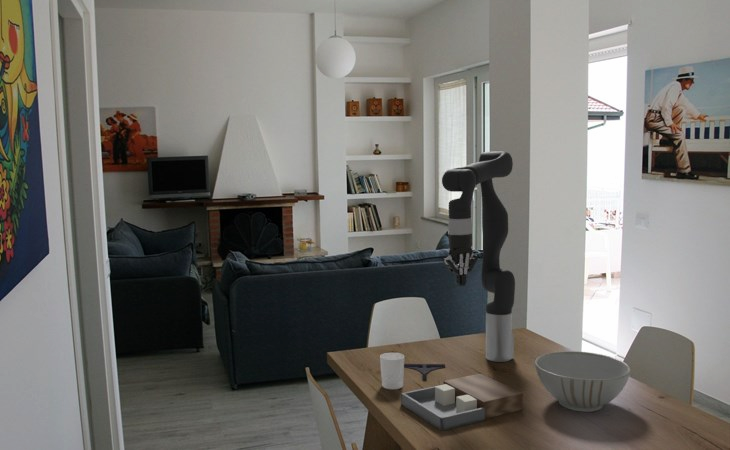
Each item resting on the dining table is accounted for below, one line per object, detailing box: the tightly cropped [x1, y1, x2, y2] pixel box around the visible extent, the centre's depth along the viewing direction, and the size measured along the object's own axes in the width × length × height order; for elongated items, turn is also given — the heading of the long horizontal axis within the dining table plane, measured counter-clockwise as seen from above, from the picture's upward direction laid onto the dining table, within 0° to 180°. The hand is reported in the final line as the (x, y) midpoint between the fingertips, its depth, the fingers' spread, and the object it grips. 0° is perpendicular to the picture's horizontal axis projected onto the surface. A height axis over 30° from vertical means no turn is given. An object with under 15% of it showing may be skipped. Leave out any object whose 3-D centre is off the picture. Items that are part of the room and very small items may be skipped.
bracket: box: [404, 363, 446, 381], centre depth 224 cm, size 14×15×3 cm
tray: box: [400, 385, 485, 431], centre depth 189 cm, size 14×22×4 cm, turn 27°
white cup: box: [379, 352, 405, 390], centre depth 211 cm, size 8×8×10 cm
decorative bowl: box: [534, 350, 631, 413], centre depth 193 cm, size 27×27×12 cm
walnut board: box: [443, 373, 524, 419], centre depth 195 cm, size 14×20×5 cm
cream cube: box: [435, 383, 455, 406], centre depth 195 cm, size 4×4×4 cm
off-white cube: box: [456, 395, 477, 413], centre depth 186 cm, size 4×4×4 cm
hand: (461, 285), depth 209 cm, fingers closed
